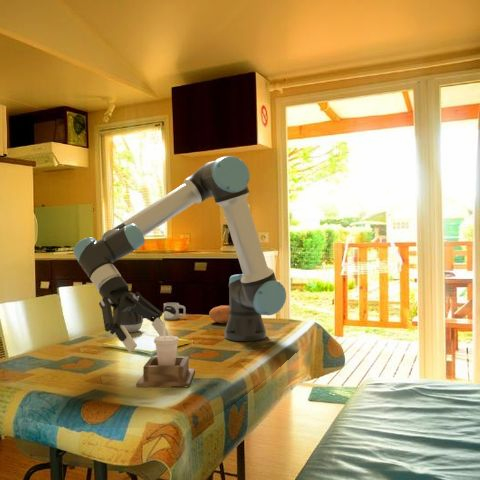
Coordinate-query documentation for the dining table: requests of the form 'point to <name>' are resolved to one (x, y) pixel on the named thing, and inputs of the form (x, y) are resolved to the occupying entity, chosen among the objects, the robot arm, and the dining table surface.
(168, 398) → the dining table surface
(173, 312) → the mug
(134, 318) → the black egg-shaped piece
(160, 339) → the smoothie
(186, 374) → the box
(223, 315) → the potato
